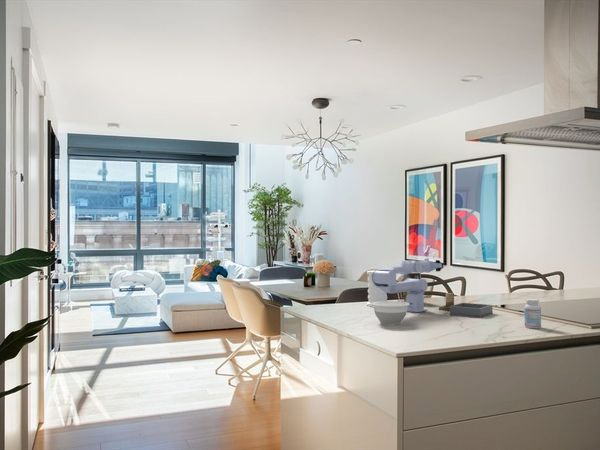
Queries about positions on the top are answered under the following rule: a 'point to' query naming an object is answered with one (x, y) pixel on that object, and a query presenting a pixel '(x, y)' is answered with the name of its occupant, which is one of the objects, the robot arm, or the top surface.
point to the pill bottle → (532, 314)
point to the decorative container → (374, 291)
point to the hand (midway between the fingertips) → (435, 266)
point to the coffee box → (411, 276)
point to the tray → (471, 310)
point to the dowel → (449, 299)
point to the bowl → (390, 311)
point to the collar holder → (444, 308)
